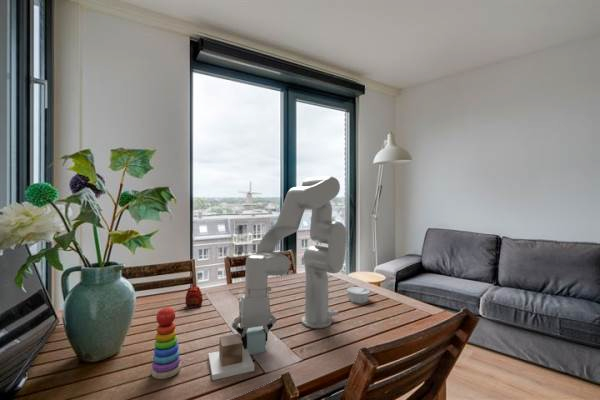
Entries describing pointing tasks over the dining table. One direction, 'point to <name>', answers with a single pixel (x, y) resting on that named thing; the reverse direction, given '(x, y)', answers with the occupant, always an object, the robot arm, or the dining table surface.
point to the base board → (229, 370)
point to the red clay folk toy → (193, 296)
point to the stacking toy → (166, 346)
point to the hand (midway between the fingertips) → (254, 344)
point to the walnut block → (230, 349)
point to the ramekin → (358, 294)
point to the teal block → (255, 340)
